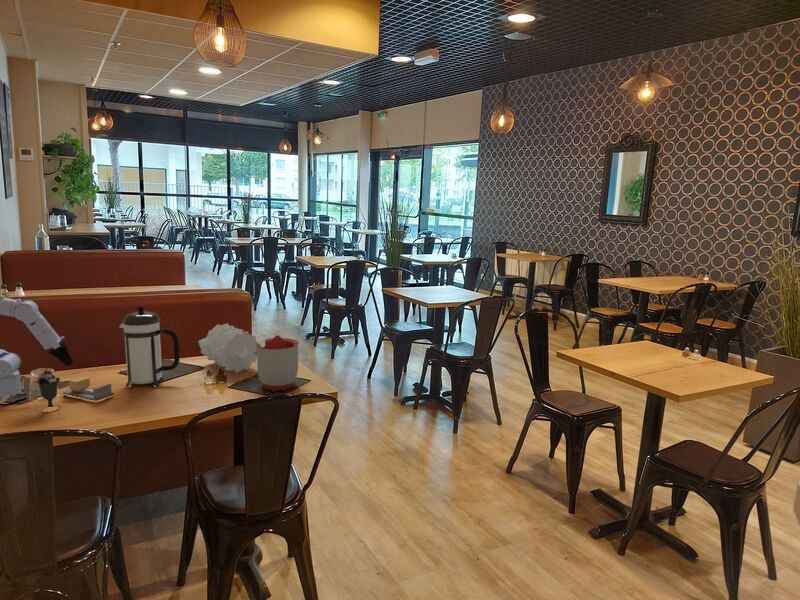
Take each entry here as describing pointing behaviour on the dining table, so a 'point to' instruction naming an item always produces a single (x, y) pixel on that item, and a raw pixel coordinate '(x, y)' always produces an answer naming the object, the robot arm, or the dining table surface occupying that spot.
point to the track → (93, 392)
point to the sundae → (48, 386)
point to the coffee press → (145, 347)
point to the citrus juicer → (277, 363)
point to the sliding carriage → (79, 383)
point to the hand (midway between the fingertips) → (69, 364)
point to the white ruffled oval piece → (229, 347)
